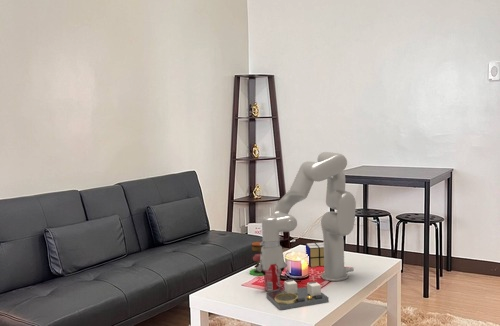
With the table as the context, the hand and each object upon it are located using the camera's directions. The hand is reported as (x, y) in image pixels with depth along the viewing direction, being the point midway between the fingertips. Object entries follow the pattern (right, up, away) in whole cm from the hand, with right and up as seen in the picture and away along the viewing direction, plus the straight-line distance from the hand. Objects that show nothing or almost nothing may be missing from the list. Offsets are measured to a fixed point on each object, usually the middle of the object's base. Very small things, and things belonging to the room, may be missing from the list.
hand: (272, 282), depth 248 cm
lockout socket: (+5, -3, -18) cm, 19 cm away
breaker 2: (+17, -2, -14) cm, 22 cm away
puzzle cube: (+25, +2, +37) cm, 44 cm away
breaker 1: (+7, -2, -10) cm, 13 cm away
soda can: (0, -3, 0) cm, 3 cm away
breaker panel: (+10, -4, -13) cm, 17 cm away
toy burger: (-5, -1, +26) cm, 26 cm away
